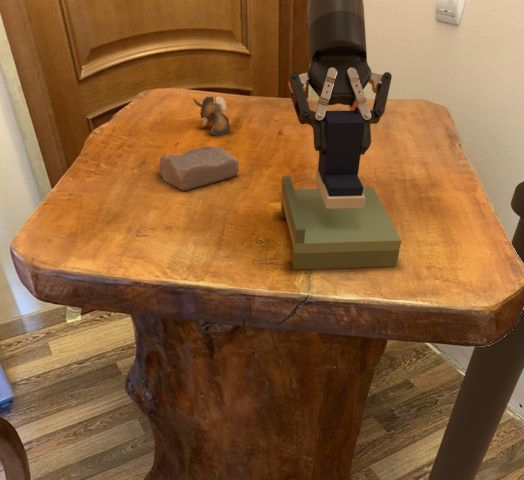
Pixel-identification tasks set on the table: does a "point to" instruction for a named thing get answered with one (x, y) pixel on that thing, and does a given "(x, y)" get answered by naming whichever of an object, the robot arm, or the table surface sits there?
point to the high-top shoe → (341, 161)
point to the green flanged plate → (338, 231)
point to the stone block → (198, 167)
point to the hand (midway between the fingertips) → (343, 152)
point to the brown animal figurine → (214, 115)
